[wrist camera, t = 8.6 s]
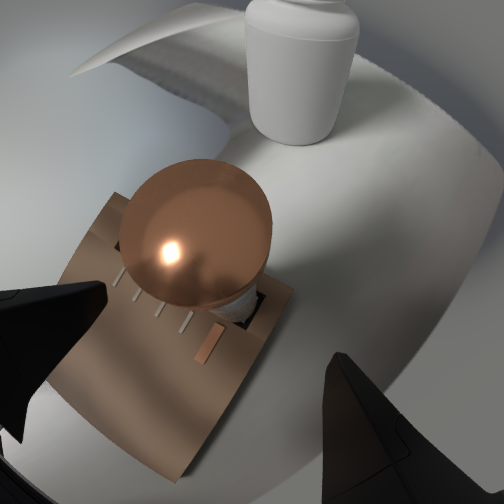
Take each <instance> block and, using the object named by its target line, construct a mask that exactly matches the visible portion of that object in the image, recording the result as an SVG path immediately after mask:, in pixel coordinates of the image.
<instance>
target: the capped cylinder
mask: <svg viewBox="0 0 504 504" xmlns="http://www.w3.org/2000/svg"><path fill="white" fill-rule="evenodd" d="M271 238H272V214H271V210H270V206H269V203H268V200H267V198H266V196H265V194H264V192H263V191H262V189H261V187H260V186H259V185H258V184H257V182H256V181H255V180H254V179H253V178H252V177H251V176H249V175H248V174H247V173H246V172H244V171H243V170H241V169H239V168H237V167H235V166H233V165H231V164H228V163H226V162H222V161H217V160H210V159H195V160H187V161H183V162H179V163H176V164H174V165H171V166H169V167H166V168H164V169H163V170H161V171H159V172H157V173H156V174H154V175H153V176H152V177H150V178H149V179H148V180H147V181H146V182H145V183H144V184H143V185H142V186H141V187H140V188H139V189H138V190H137V191H136V193H135V194H134V196H133V197H132V198H131V200H130V201H129V203H128V205H127V207H126V209H125V212H124V215H123V218H122V221H121V226H120V233H119V246H120V252H121V257H122V260H123V263H124V265H125V267H126V270H127V272H128V273H129V275H130V276H131V278H132V279H133V281H134V282H135V283H136V284H137V285H138V286H139V287H140V288H141V289H142V290H144V291H145V292H146V293H147V294H149V295H151V296H153V297H154V298H156V299H158V300H160V301H163V302H165V303H167V304H170V305H172V306H175V307H177V308H181V309H185V310H192V311H205V310H208V311H210V312H212V313H213V314H215V315H217V316H218V317H220V318H222V319H223V320H225V321H228V322H242V323H244V324H245V322H246V320H247V318H248V317H250V316H251V314H252V313H253V312H254V310H255V307H256V302H257V301H258V297H257V296H256V282H257V280H258V279H259V277H260V276H261V274H262V272H263V270H264V268H265V266H266V263H267V260H268V257H269V252H270V246H271Z"/></svg>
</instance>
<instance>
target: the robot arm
mask: <svg viewBox="0 0 504 504" xmlns="http://www.w3.org/2000/svg"><path fill="white" fill-rule="evenodd" d="M107 303H108V294H107V287H106V284H105V283H104V282H101V281H99V280H94V281H86V282H77V283H69V284H61V285H53V286H44V287H37V288H27V289H21V290H20V289H17V290H7V291H0V431H1V430H2V428H4V429H5V430H6V431H7V432H8V433H9V434H10V435H11V436H12V437H14V438H15V439H16V440H17V441H18V442H19V443H20V444H22V441H23V434H24V427H25V420H26V413H27V408H28V403H29V401H30V399H31V397H32V396H33V394H34V393H35V392H36V391H37V389H38V388H39V387H40V386H41V385H42V383H43V382H44V381H45V380H46V378H47V377H48V376H49V375H50V374H51V372H52V371H53V370H54V369H55V368H56V366H57V365H58V364H59V363H60V362H61V361H62V359H63V358H64V357H65V356H66V355H67V354H68V352H69V351H70V350H71V349H72V348H73V347H74V346H75V345H76V343H77V342H78V341H79V340H80V339H81V338H82V337H83V336H84V334H85V333H86V332H87V331H88V330H89V329H90V327H91V326H92V325H93V323H94V322H95V321H96V319H97V318H98V317H99V315H100V314H101V312H102V311H103V310H104V308H105V307H106V306H107ZM322 411H323V479H322V504H504V490H501V491H499V492H496V493H493V494H491V493H488V492H486V491H485V490H483V489H482V488H481V487H480V486H479V485H478V484H477V483H475V482H474V481H473V480H472V479H471V478H470V477H468V476H467V475H466V474H465V473H464V472H463V471H462V470H461V469H459V468H458V467H457V466H456V465H455V464H453V462H451V461H450V460H449V459H448V458H447V457H446V456H445V455H444V454H443V453H441V452H440V451H439V450H438V449H437V448H436V447H434V445H432V444H431V443H430V442H429V441H428V440H427V439H426V438H425V437H424V436H423V435H421V433H419V432H418V431H417V430H416V429H415V428H414V427H413V425H412V424H410V422H409V421H408V420H407V419H406V418H405V417H404V416H403V415H402V414H400V412H399V411H398V410H397V409H396V408H395V406H393V404H392V403H391V402H390V401H389V400H388V399H387V398H386V397H385V396H384V394H383V393H382V392H381V391H380V390H379V389H378V388H377V387H376V386H375V385H374V383H373V382H372V381H371V380H370V379H369V378H368V377H367V376H366V375H365V374H364V372H363V371H362V370H361V369H360V368H359V367H358V366H357V365H356V364H355V363H354V362H353V360H352V359H351V358H350V357H349V356H348V355H347V354H345V353H341V352H336V353H335V354H334V355H333V357H332V359H331V361H330V363H329V364H328V366H327V369H326V374H325V384H324V394H323V405H322ZM0 504H58V503H57V502H56V501H54V500H53V499H52V498H50V497H49V496H47V495H46V494H45V493H44V492H42V491H41V490H40V489H38V488H37V487H36V486H35V485H33V484H32V483H31V482H30V481H29V480H28V479H26V478H25V477H24V476H23V475H22V474H21V473H20V472H18V471H17V470H16V469H15V468H14V467H13V466H12V465H11V464H10V463H9V462H8V461H7V460H6V459H5V458H4V455H3V448H2V441H1V435H0Z"/></svg>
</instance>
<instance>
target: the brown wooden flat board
mask: <svg viewBox="0 0 504 504" xmlns="http://www.w3.org/2000/svg"><path fill="white" fill-rule="evenodd" d="M129 201H130V200H129V199H127V198H125V197H123V196H121V195H120V194H118V193H116V192H114V193H113V195H112V196H111V198H110V199H109V200H108V202H107V203H106V205H105V206H104V207H103V209H102V210H101V212H100V214H99V215H98V216H97V218H96V219H95V221H94V222H93V224H92V226H91V227H90V228H89V230H88V232H87V234H86V235H85V237H84V238H83V240H82V241H81V243H80V244H79V246H78V248H77V249H76V251H75V253H74V255H73V256H72V258H71V260H70V261H69V263H68V265H67V267H66V269H65V270H64V272H63V274H62V276H61V278H60V280H59V282H58V284H57V285H61V284H69V283H77V282H86V281H94V280H99V281H101V282H104V283H105V284H106V287H107V294H108V303H107V306H106V307H105V308H104V310H103V311H102V312H101V314H100V315H99V317H98V318H97V319H96V321H95V322H94V323H93V325H92V326H91V327H90V329H89V330H88V331H87V332H86V333H85V334H84V336H83V337H82V338H81V339H80V340H79V341H78V342H77V343H76V345H75V346H74V347H73V348H72V349H71V350H70V351H69V352H68V354H67V355H66V356H65V357H64V358H63V359H62V361H61V362H60V363H59V364H58V365H57V366H56V368H55V369H54V370H53V371H52V372H51V374H50V375H49V376H48V377H47V378H46V381H47V382H48V383H49V384H50V385H51V386H52V387H53V388H54V389H55V390H56V391H57V392H58V393H59V394H60V395H61V397H62V398H63V399H64V400H65V401H66V402H68V403H69V404H70V405H71V406H72V407H73V408H74V409H75V410H76V411H77V412H78V413H79V414H80V415H81V416H82V417H83V418H85V419H86V420H87V421H88V422H89V423H90V424H91V425H93V426H94V427H95V428H96V429H97V430H98V431H100V432H101V433H102V434H103V435H105V436H106V437H107V438H108V439H110V440H111V441H112V442H113V443H115V444H116V445H117V446H119V447H120V448H121V449H123V450H124V451H125V452H127V453H128V454H130V455H131V456H132V457H134V458H135V459H137V460H138V461H140V462H141V463H143V464H144V465H146V466H147V467H149V468H150V469H152V470H154V471H155V472H157V473H158V474H160V475H162V476H163V477H165V478H167V479H168V480H170V481H172V482H174V483H176V482H177V481H178V479H179V478H180V476H181V475H182V474H183V472H184V471H185V469H186V468H187V466H188V465H189V463H190V462H191V461H192V459H193V458H194V456H195V455H196V453H197V452H198V450H199V449H200V447H201V446H202V444H203V443H204V441H205V440H206V438H207V437H208V435H209V434H210V432H211V431H212V429H213V428H214V426H215V424H216V423H217V421H218V420H219V418H220V417H221V415H222V413H223V412H224V410H225V409H226V407H227V406H228V404H229V402H230V401H231V399H232V397H233V396H234V394H235V393H236V391H237V389H238V388H239V386H240V384H241V383H242V381H243V379H244V378H245V376H246V374H247V373H248V371H249V369H250V368H251V366H252V364H253V362H254V361H255V359H256V357H257V356H258V354H259V352H260V350H261V349H262V347H263V345H264V343H265V342H266V340H267V338H268V336H269V335H270V333H271V331H272V329H273V327H274V326H275V324H276V322H277V320H278V318H279V317H280V315H281V313H282V311H283V309H284V307H285V305H286V304H287V302H288V300H289V298H290V296H291V294H292V292H293V291H294V289H292V288H290V287H288V286H286V285H285V284H283V283H281V282H279V281H277V280H275V279H273V278H271V277H270V276H268V275H266V274H264V273H262V274H261V276H260V277H259V279H258V280H257V282H256V293H258V294H260V295H262V296H264V297H265V298H264V300H263V302H262V304H261V306H260V307H259V309H258V311H257V313H256V314H255V316H254V318H253V320H252V321H251V323H250V325H249V327H248V328H247V330H244V329H242V328H241V327H239V326H237V325H235V324H233V323H232V322H228V321H225V320H223V319H222V318H220V317H218V316H217V315H215V314H213V313H212V312H210V311H208V310H205V311H192V310H185V309H181V308H177V307H175V306H172V305H170V304H167V303H165V302H163V301H160V300H158V299H156V298H154V297H153V296H151V295H149V294H147V293H146V292H145V291H144V290H142V289H141V288H140V287H139V286H138V285H137V284H136V283H135V282H134V281H133V279H132V278H131V276H130V275H129V273H128V272H127V270H126V267H125V265H124V263H123V260H122V257H121V253H120V246H119V233H120V226H121V221H122V218H123V215H124V212H125V209H126V207H127V205H128V203H129Z"/></svg>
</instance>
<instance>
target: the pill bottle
mask: <svg viewBox="0 0 504 504" xmlns="http://www.w3.org/2000/svg"><path fill="white" fill-rule="evenodd" d="M345 1H346V0H253V1H252V2H251V3H250V4H249V5H248V7H247V9H246V13H245V36H246V53H247V70H248V87H249V104H250V114H251V118H252V121H253V123H254V125H255V127H256V128H257V129H258V130H259V131H260V132H261V133H262V134H263V135H265V136H266V137H268V138H269V139H271V140H273V141H276V142H279V143H282V144H287V145H297V146H299V145H309V144H313V143H316V142H318V141H320V140H322V139H324V138H325V137H326V136H327V135H328V134H329V133H330V132H331V130H332V129H333V127H334V124H335V122H336V119H337V115H338V112H339V108H340V105H341V101H342V98H343V94H344V91H345V87H346V83H347V80H348V76H349V72H350V68H351V65H352V61H353V57H354V53H355V49H356V45H357V41H358V37H359V32H360V28H359V21H358V19H357V17H356V15H355V14H354V12H353V11H352V10H351V9H350V8H348V7H347V6H346V5H344V4H343V3H344V2H345Z"/></svg>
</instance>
